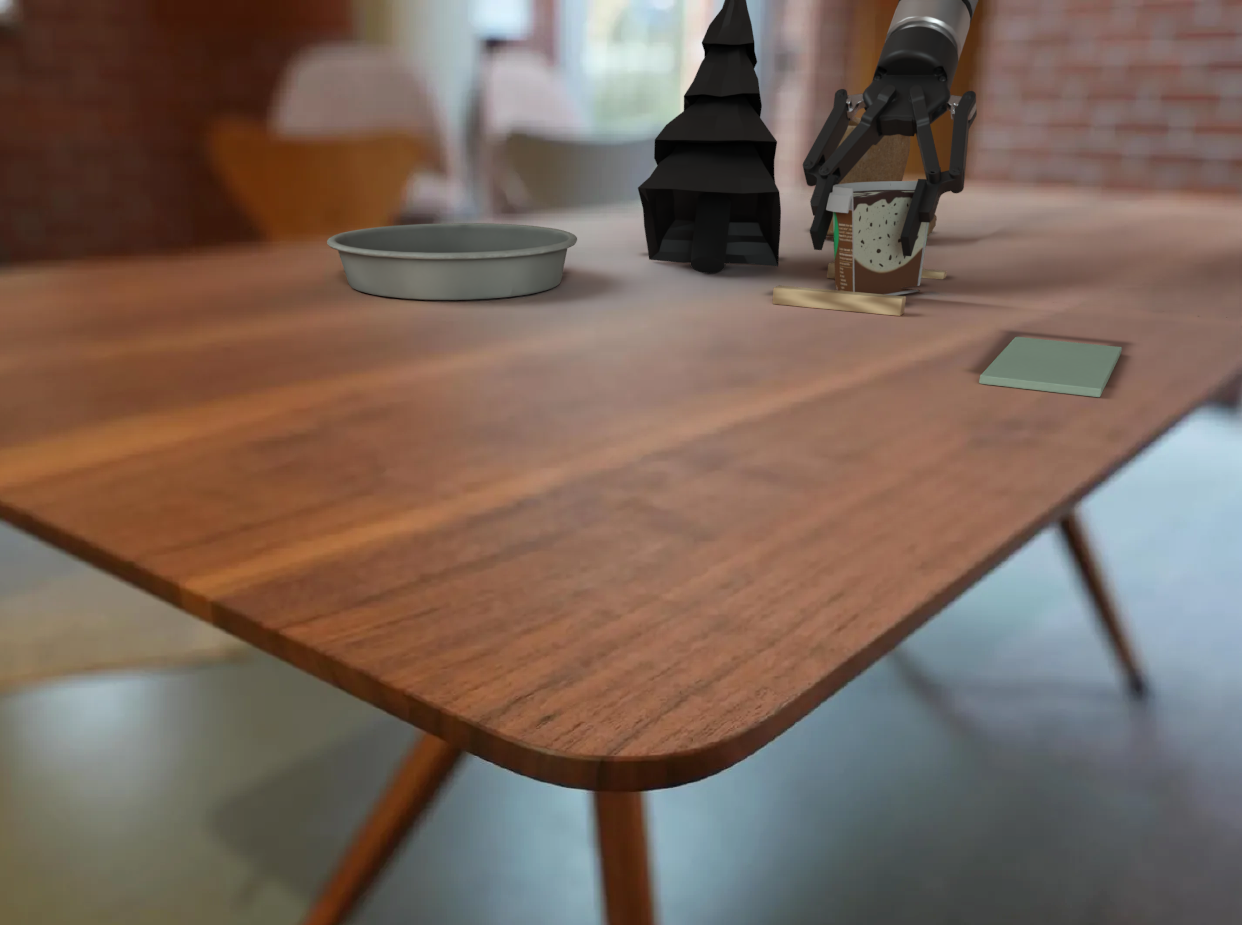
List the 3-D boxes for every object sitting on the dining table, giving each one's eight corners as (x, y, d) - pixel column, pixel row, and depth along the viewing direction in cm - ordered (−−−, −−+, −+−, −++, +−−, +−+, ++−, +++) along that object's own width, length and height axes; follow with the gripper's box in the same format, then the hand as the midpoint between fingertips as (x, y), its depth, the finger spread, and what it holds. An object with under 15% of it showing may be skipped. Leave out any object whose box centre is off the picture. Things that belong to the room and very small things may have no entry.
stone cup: (803, 243, 147) (814, 113, 141) (819, 232, 157) (830, 110, 151) (926, 249, 143) (943, 115, 136) (935, 237, 153) (950, 112, 146)
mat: (1120, 354, 91) (1122, 346, 90) (1099, 397, 79) (1101, 388, 78) (1014, 344, 94) (1015, 336, 94) (978, 383, 82) (979, 375, 81)
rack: (945, 285, 119) (947, 270, 118) (900, 316, 104) (902, 298, 103) (830, 276, 124) (832, 261, 123) (772, 303, 109) (773, 287, 108)
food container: (881, 284, 119) (888, 179, 115) (929, 289, 115) (938, 181, 111) (794, 297, 113) (799, 186, 109) (842, 303, 108) (848, 188, 104)
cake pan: (548, 261, 131) (547, 218, 129) (604, 299, 110) (604, 249, 108) (325, 268, 126) (321, 223, 124) (338, 309, 104) (333, 256, 102)
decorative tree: (776, 300, 129) (804, 16, 135) (777, 231, 115) (807, -83, 120) (645, 294, 131) (677, 15, 137) (629, 226, 117) (666, -82, 122)
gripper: (1030, 83, 114) (974, 277, 108) (824, 81, 122) (762, 261, 116) (1030, 20, 107) (971, 222, 101) (813, 23, 116) (747, 210, 110)
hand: (860, 243), depth 109 cm, fingers closed on food container, 8 cm apart
